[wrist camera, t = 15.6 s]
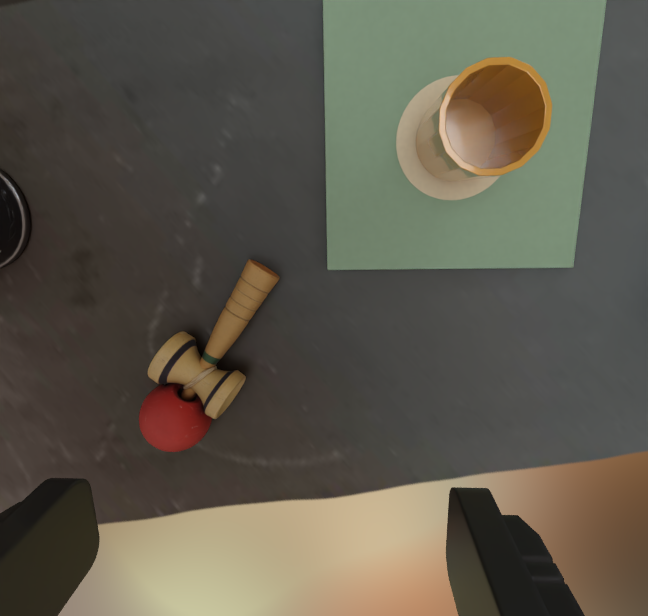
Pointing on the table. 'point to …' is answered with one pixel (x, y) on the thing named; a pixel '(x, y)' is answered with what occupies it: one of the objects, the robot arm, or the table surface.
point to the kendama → (200, 370)
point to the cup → (485, 121)
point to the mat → (408, 109)
